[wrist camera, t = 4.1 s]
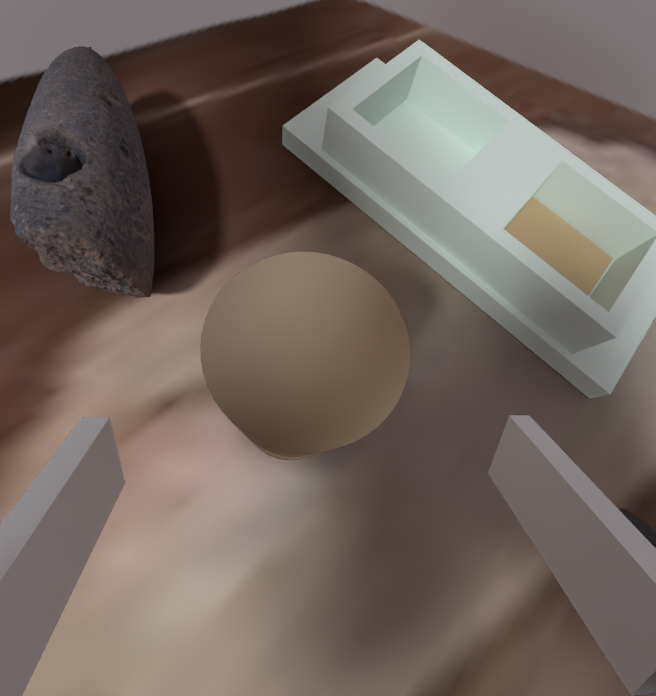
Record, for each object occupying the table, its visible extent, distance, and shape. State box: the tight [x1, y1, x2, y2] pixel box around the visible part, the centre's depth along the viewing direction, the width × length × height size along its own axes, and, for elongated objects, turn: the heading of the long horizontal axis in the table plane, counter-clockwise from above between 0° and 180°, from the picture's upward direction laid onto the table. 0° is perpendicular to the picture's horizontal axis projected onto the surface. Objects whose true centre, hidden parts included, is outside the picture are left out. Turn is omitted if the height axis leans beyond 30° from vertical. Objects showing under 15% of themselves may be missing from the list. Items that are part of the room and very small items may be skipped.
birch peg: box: [200, 252, 411, 460], centre depth 14 cm, size 5×5×12 cm
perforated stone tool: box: [10, 47, 154, 297], centre depth 19 cm, size 15×5×7 cm, turn 10°
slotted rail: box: [282, 40, 656, 399], centre depth 24 cm, size 26×10×4 cm, turn 49°
